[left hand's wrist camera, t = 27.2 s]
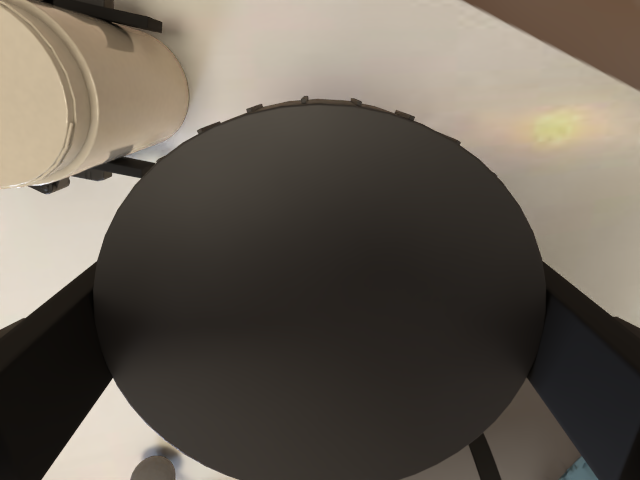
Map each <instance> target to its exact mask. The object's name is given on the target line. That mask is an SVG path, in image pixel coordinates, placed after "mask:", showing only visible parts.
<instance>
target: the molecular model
mask: <svg viewBox="0 0 640 480" xmlns="http://www.w3.org/2000/svg"><path fill="white" fill-rule="evenodd" d="M130 480H175V469H174V466H173V464H172V463H171V461H170V460H168V459H167V458H165V457H163V456H151V457H149V458H146V459H145V460H143V461H142V462H140V463H139V465H138V466H137V467H136V468H135V470H134V471H133V473H132V476H131V479H130Z"/></svg>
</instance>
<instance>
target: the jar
mask: <svg viewBox="0 0 640 480" xmlns="http://www.w3.org/2000/svg"><path fill="white" fill-rule="evenodd" d="M188 102H189V91H188V85H187V81H186V77H185V74H184V72H183V69H182V67H181V65H180V64H179V62H178V60H177V59H176V57H175V56H174V54H173V53H172V52H171V51H170V50H169V49H168V48H167V47H166V46H165V45H164V44H163V43H162V42H160V41H159V40H158V39H156V38H155V37H153V36H151V35H149V34H147V33H145V32H142V31H139V30H136V29H133V28H129V27H126V26H123V25H119V24H116V23H112V22H109V21H106V20H102V19H99V18H95V17H92V16H89V15H85V14H82V13H79V12H75V11H72V10H68V9H65V8H62V7H58V6H55V5H51V4H48V3H45V2H41V1H38V0H0V189H7V188H16V187H24V186H34V185H43V184H49V183H52V182H55V181H58V180H61V179H64V178H67V177H69V176H72V175H75V174H77V173H80V172H83V171H85V170H88V169H91V168H94V167H96V166H99V165H102V164H104V163H107V162H110V161H113V160H115V159H118V158H121V157H123V156H126V155H129V154H132V153H134V152H137V151H140V150H142V149H145V148H148V147H151V146H153V145H156V144H159V143H161V142H163V141H165V140H167V139H168V138H170V137H171V136H172V135H173V134H174V133H175V132H176V131H177V130H178V129H179V128H180V126H181V125H182V123H183V121H184V119H185V116H186V113H187V109H188Z"/></svg>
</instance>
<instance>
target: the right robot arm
mask: <svg viewBox="0 0 640 480" xmlns="http://www.w3.org/2000/svg"><path fill="white" fill-rule="evenodd" d="M38 1H41V2H45V3H48V4H51V5H55V6H58V7H62V8H65V9H68V10H72V11H75V12H79V13H82V14H85V15H89V16H92V17H95V18H99V19H102V20H106V21H109V22H113V23H118V24H122V25H127V26H132V27H136V28H141V29H145V30H150V31H154V32H159V33H162V22H160V21H157V20H155V19H152V18H150V17H147V16H142V15H137V14H133V13H128V12H124V11H119V10H115V9H114V0H38ZM154 165H155V163H152V162H147V161H142V160H137V159H132V158H127V157H121V158H118V159H115V160H113V161H110V162H107V163H104V164H102V165H99V166H96V167H94V168H91V169H88V170H85V171H83V172H80V173H77V174H75V175H72V176H73V177H79V178H84V179H89V180H94V181H101V180H105V179H107V178H109V177H111V176H112V173H117V174H122V175H127V176H132V177H137V178H142V177H143V176H144V175H145V174H146V173H147V172H148V171H149V170H150V169H151V168H152V167H153V166H154ZM69 177H70V176H69ZM69 177H67V178H64V179H61V180H58V181H55V182H52V183H49V184H43V185H34V186H29V187H31V188H33V189H35V190H37V191H40V192H42V193H44V194H50V193H53V192H55V191H58V190H60V189H62V188H65V187H67V186H69V184H70V180H69Z"/></svg>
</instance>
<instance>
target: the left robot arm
mask: <svg viewBox="0 0 640 480" xmlns="http://www.w3.org/2000/svg"><path fill="white" fill-rule="evenodd" d="M542 263H543V269H544V276H545V282H546V315H545V321H544V327H543V331H542V336H541V340H540V344H539V347H538V351H537V354H536V358H535V361H534V363H533V365H532V367H531V369H530V371H529V373H528V375H527V377H526V380H525V382H524V383H523V385H522V386H521V388H520V390H519V391H518V393H517V394H516V396H515V397H514V399H513V400H512V402H511V403H510V404H509V406H508V407H507V408H506V409H505V410H504V412H503V413H502V414H501V415H500V416H499V417H498V419H497V420H496V421H495V422H494V423H493V424H492V425H491V426H490V427H489V428H488V429H486V430H485V431H484V432H483V433H482V434H481V435H480V436H479V437H478V438H477V439H475V440H474V441H473V442H471V443H470V444H468V445H467V446H466V447H464V448H463V449H462V450H460V451H459V452H458V453H456V454H454V455H452V456H451V457H449V458H447V459H446V460H444V461H442V462H441V463H439V464H437V465H435V466H433V467H431V468H428V469H426V470H424V471H422V472H420V473H417V474H415V475H412V476H409V477H406V478H404V479H401V480H640V328H638V327H636V326H634V325H632V324H630V323H628V322H626V321H624V320H622V319H620V318H618V317H612V316H611V315H610V314H608V313H607V312H606V311H605V310H603V309H602V308H601V307H600V306H598V305H597V304H596V303H595V302H593V301H592V300H591V299H590V298H588V297H587V296H586V295H585V294H583V293H582V292H581V291H579V290H578V289H577V288H576V287H574V286H573V285H572V284H571V283H569V282H568V281H567V280H566V279H564V278H563V277H562V276H561V275H559V274H558V273H557V272H556V271H554V270H553V269H552V268H551V267H549V266H548V265H547V264H546V263H544V262H543V261H542ZM96 265H97V262H95V263H94V264H93V265H92V266H90V267H89V268H88V269H87V270H85V271H84V272H83V273H82V274H80V275H79V276H78V277H77V278H75V279H74V280H73V281H72V282H70V283H69V284H68V285H66V286H65V287H64V288H63V289H61V290H60V291H59V292H58V293H56V294H55V295H54V296H53V297H51V298H50V299H49V300H48V301H46V302H45V303H44V304H43V305H41V306H40V307H39V308H38V309H36V310H35V311H34V312H33V313H31V314H30V315H29V316H28V317H26V318H23V319H21V320H19V321H17V322H15V323H13V324H11V325H9V326H7V327H5V328H3V329H1V330H0V480H41V479H42V478H43V477H44V475H45V474H46V472H47V471H48V470H49V468H50V467H51V465H52V464H53V462H54V461H55V460H56V458H57V457H58V455H59V454H60V452H61V451H62V450H63V448H64V447H65V445H66V444H67V442H68V441H69V440H70V438H71V437H72V435H73V434H74V433H75V431H76V430H77V428H78V427H79V425H80V424H81V423H82V421H83V420H84V418H85V417H86V415H87V414H88V413H89V411H90V410H91V408H92V407H93V405H94V404H95V403H96V401H97V400H98V398H99V397H100V395H101V394H102V393H103V391H104V390H105V388H106V387H107V386H108V384H109V383H110V381H111V380H112V378H113V376H112V374H111V372H110V370H109V368H108V366H107V364H106V362H105V359H104V356H103V353H102V350H101V346H100V342H99V338H98V334H97V329H96V325H95V319H94V302H93V287H94V280H95V272H96Z"/></svg>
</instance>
